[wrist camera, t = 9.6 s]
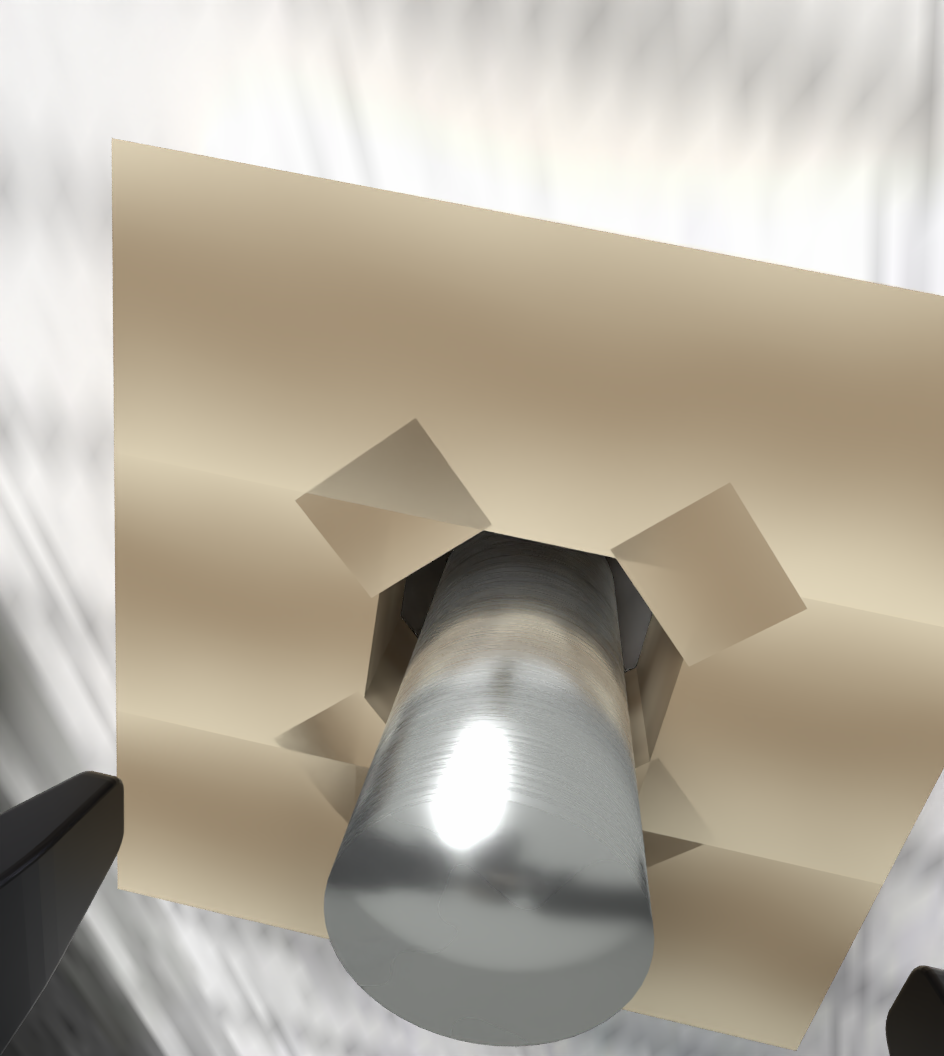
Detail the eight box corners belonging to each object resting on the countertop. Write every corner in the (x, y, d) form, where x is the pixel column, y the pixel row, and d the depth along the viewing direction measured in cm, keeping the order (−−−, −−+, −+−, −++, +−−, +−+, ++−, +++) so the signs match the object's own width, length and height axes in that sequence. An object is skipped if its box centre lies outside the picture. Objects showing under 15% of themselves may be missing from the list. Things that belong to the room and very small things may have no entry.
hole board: (761, 922, 18) (796, 1051, 15) (185, 789, 18) (117, 888, 16) (1035, 313, 12) (1167, 338, 10) (208, 156, 13) (111, 138, 10)
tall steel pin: (591, 684, 16) (608, 1077, 9) (429, 648, 16) (309, 1003, 9) (634, 533, 15) (696, 845, 7) (456, 496, 15) (341, 765, 7)
